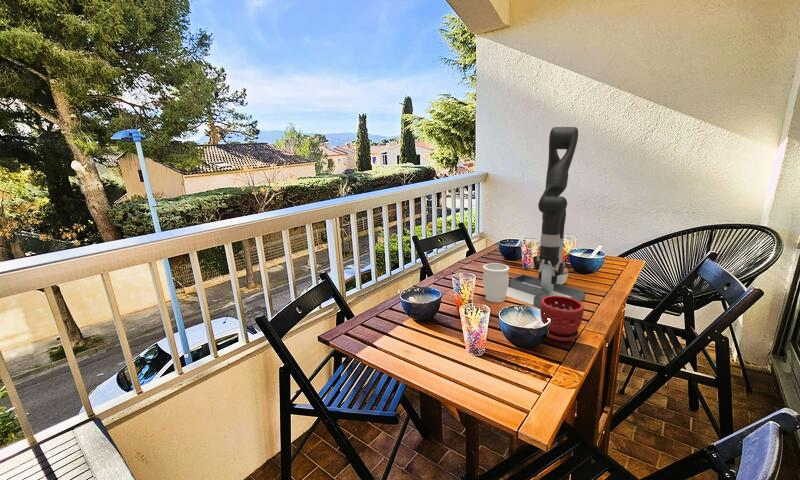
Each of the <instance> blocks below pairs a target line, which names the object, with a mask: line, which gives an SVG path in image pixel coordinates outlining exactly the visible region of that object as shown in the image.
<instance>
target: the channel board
mask: <svg viewBox="0 0 800 480" xmlns="http://www.w3.org/2000/svg"><path fill="white" fill-rule="evenodd" d="M522 283H524V284H528V283H525V282H522ZM528 285H531V286H534V287H538V286H535V285H532V284H528ZM538 288H541V287H538ZM549 296H563V297H568V298H571V297H572V296H569V295H565V294H562V293H559V292H555V291H553V292H549ZM505 297H509V298H512V299H514V300H517V301H520V302H523V303H525V304H529V305H532V306H535V305H533V303H534V297H535V295H532V294H529V293H526V292H523V291H520V290H517V289H514V288H510V287H509V286H508V289H507V293H506V295H505ZM583 301H584V300H582V301H581V302H583ZM555 303H557V302H555ZM535 307H538V306H535ZM538 308H539V307H538Z"/></svg>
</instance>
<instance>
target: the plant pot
mask: <svg viewBox="0 0 800 480" xmlns="http://www.w3.org/2000/svg"><path fill="white" fill-rule="evenodd" d="M555 302H557V304H555ZM550 304H551V305H552V307H551V306H550ZM562 304H565V306H562ZM569 306H571V308H569ZM555 307H559V308H560V309H557V308H555ZM539 308H540V309H539V311H540V312H539V313H540V319H541V322H543V323H544V324H545V323H547V322H548V320H547V318H550V319H551V324H550V326H549V333H548V335H547V336H546V337H548V338H550V339H552V340H555V341H557V342H570V341H574V340H576V339H577V338H578V336H579V331H578V330H579V328H580V327H581V325H582V321H583V317H584V310H585V306H584V304H583V303H582V301H581V302H579V301H577V300H575V299H572V298H568V297H563V296H547V297H544V298H542V300H541V306H540V307H539ZM564 308H565V309H567V310H563V309H564ZM544 313H545V314H544ZM543 323H542V324H543Z"/></svg>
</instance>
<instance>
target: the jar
mask: <svg viewBox="0 0 800 480" xmlns="http://www.w3.org/2000/svg"><path fill="white" fill-rule="evenodd" d="M482 269H483V270H484V271H483V272H482V274H483V275H482V285H483V291H484V295H485V297H484V298H485V299H484V300H486V301H488V302H491V303H503V302H504V301H506V298H505V297H506V293H507V289H508V287H509V279H510V275H509V271H510V267H509V265H506V264H504V263H499V262H498V263H496V262H494V263H493V262H492V263H486V264H483V266H482Z"/></svg>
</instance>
